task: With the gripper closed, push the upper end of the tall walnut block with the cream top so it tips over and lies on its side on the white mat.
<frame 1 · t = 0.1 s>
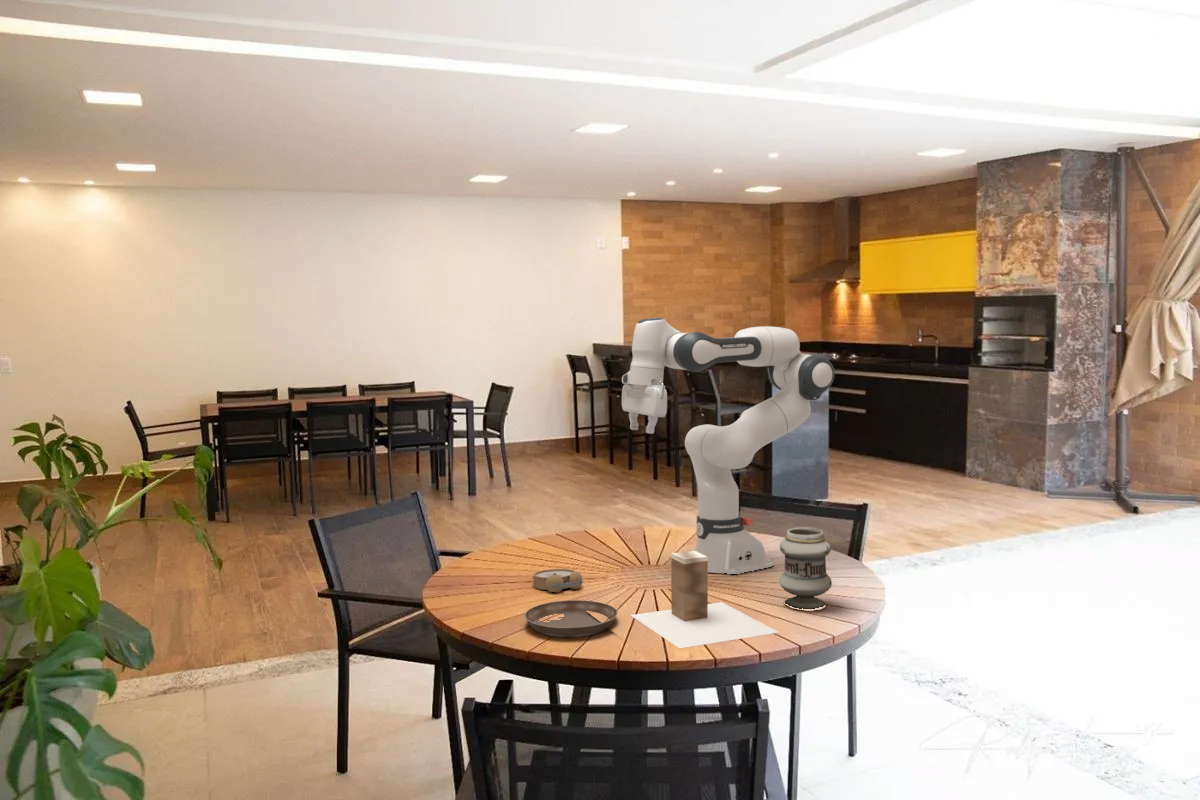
hand: (641, 431, 243), 39 cm above the table, tool pointing down, fingers open, 8 cm apart
white mat: (702, 627, 204), on the table
walnut block: (689, 615, 209), point 1 cm above the table, touching white mat
alarm clock: (558, 588, 237), on the table
apothecary jar: (805, 606, 219), on the table
plant saucer: (571, 627, 206), on the table
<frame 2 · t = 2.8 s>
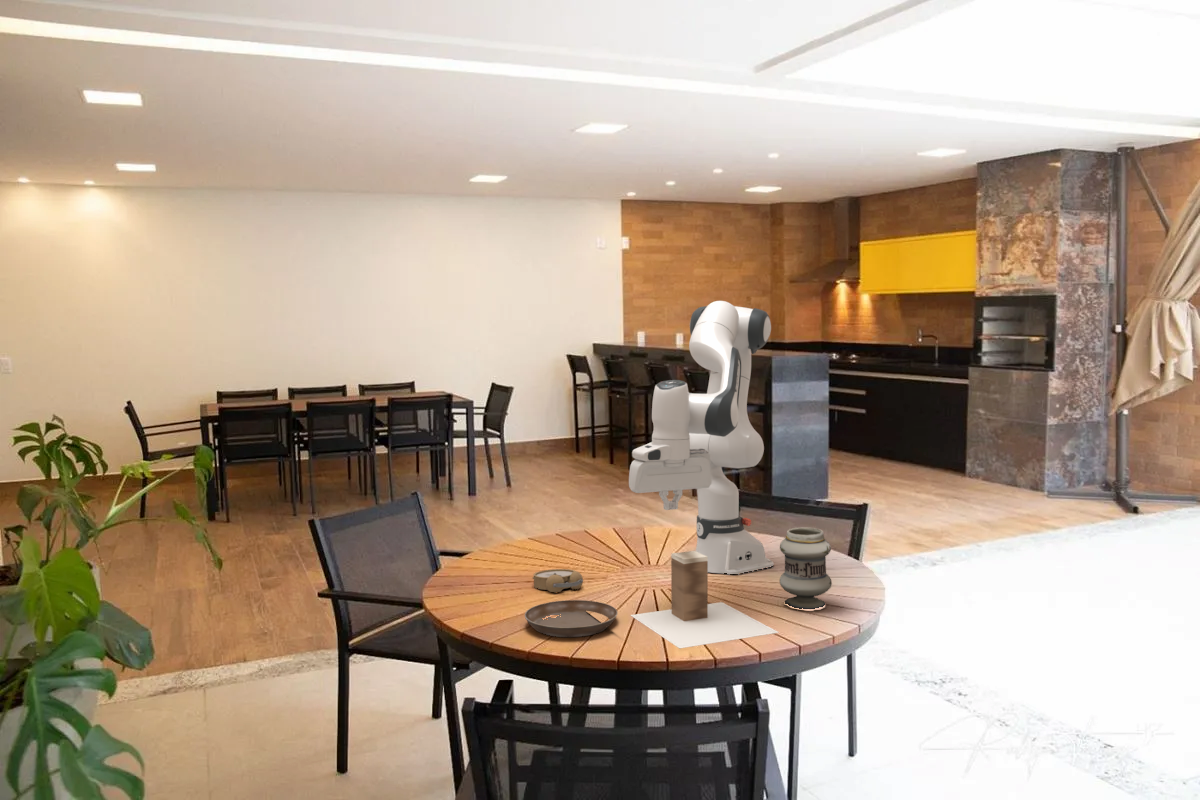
hand: (670, 509, 216), 24 cm above the table, tool pointing down, fingers closed
nothing on the table moved.
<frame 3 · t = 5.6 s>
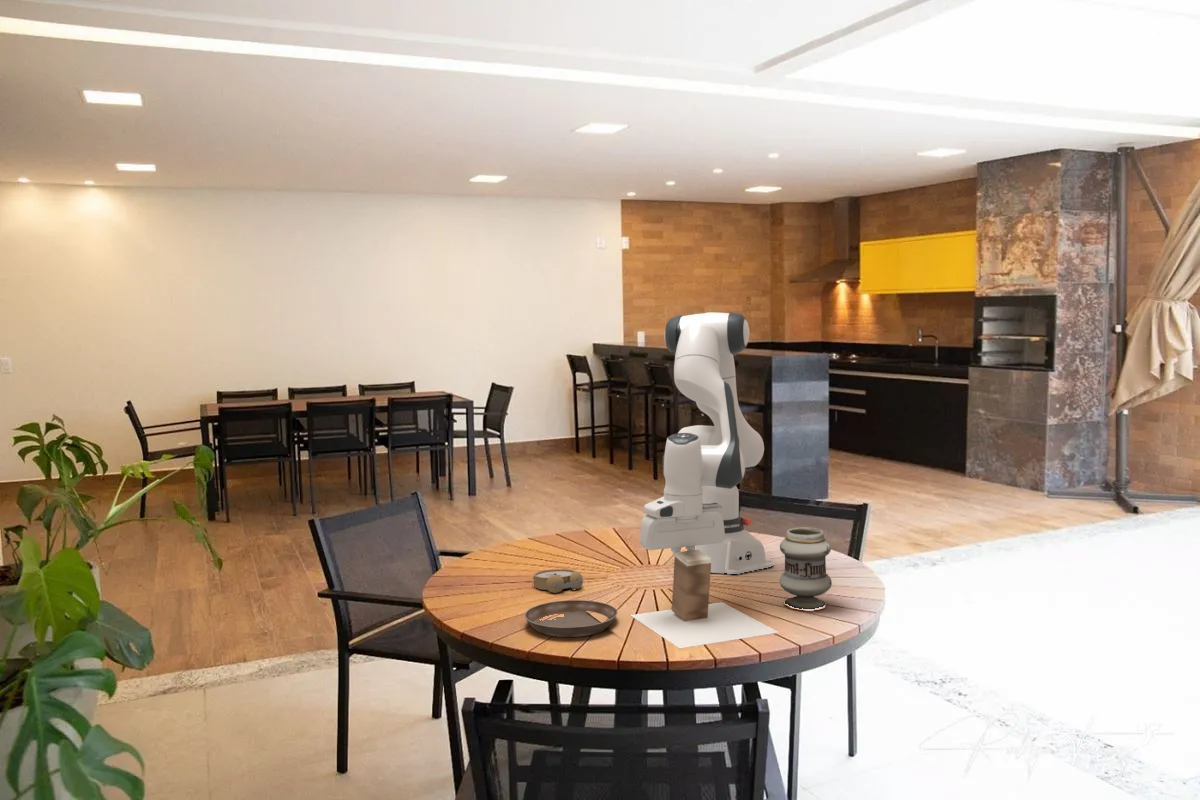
hand: (683, 565, 211), 12 cm above the table, tool pointing down, fingers closed
walnut block: (689, 614, 209), point 1 cm above the table, tilted 7°, touching white mat
everything else where it was.
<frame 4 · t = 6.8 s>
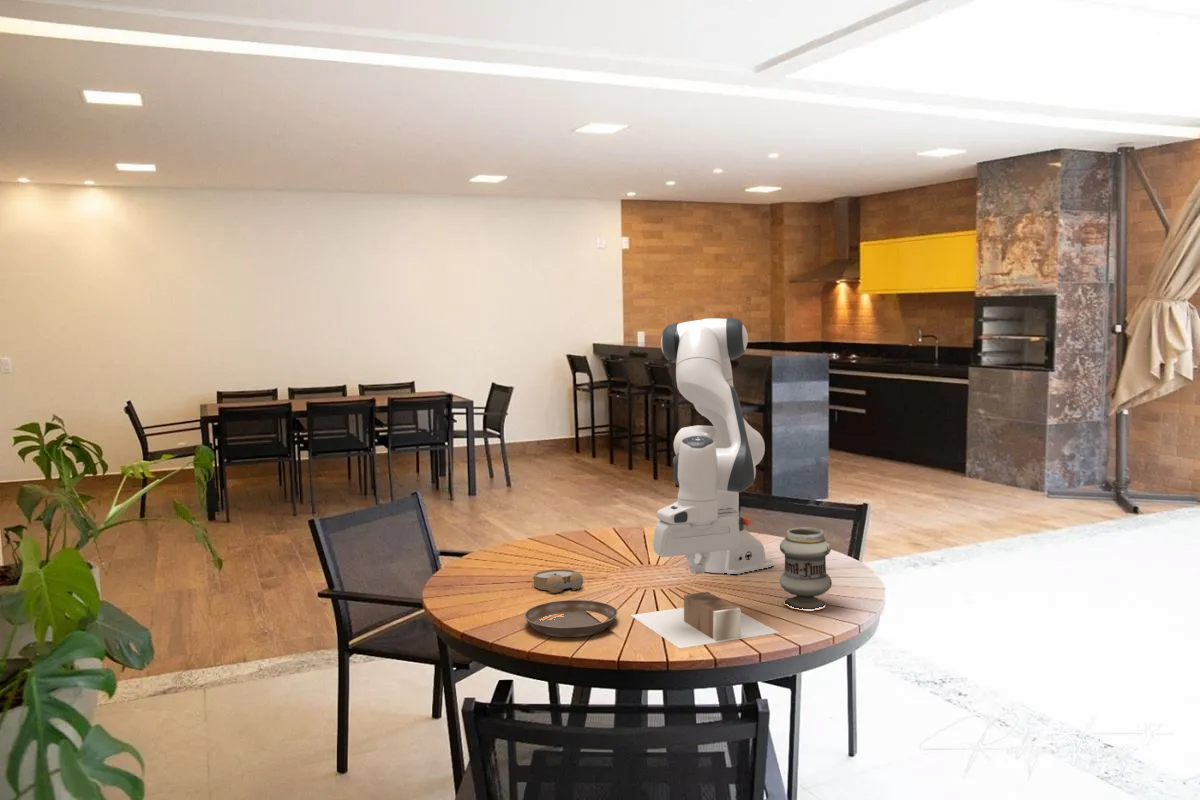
hand: (697, 572, 205), 12 cm above the table, tool pointing down, fingers closed
walnut block: (695, 606, 206), point 4 cm above the table, tilted 90°, touching white mat
everything else where it was.
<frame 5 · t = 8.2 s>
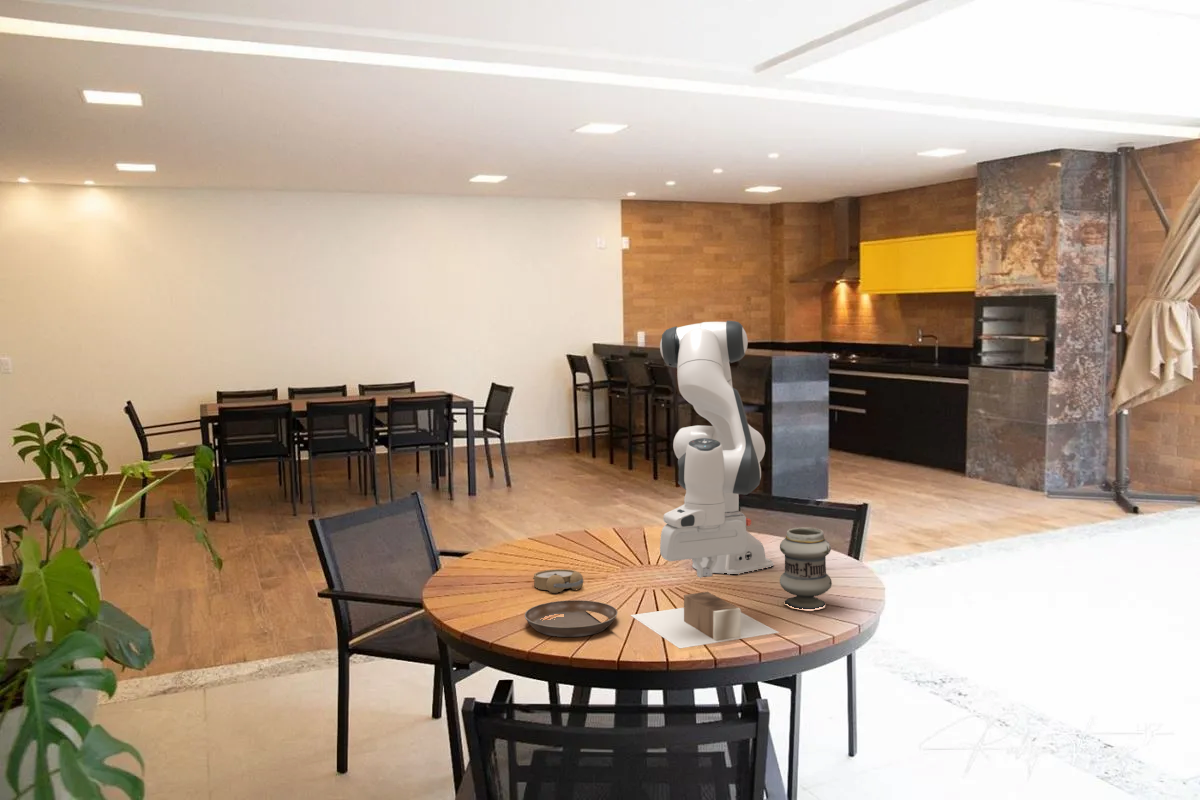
hand: (704, 576, 202), 12 cm above the table, tool pointing down, fingers closed
nothing on the table moved.
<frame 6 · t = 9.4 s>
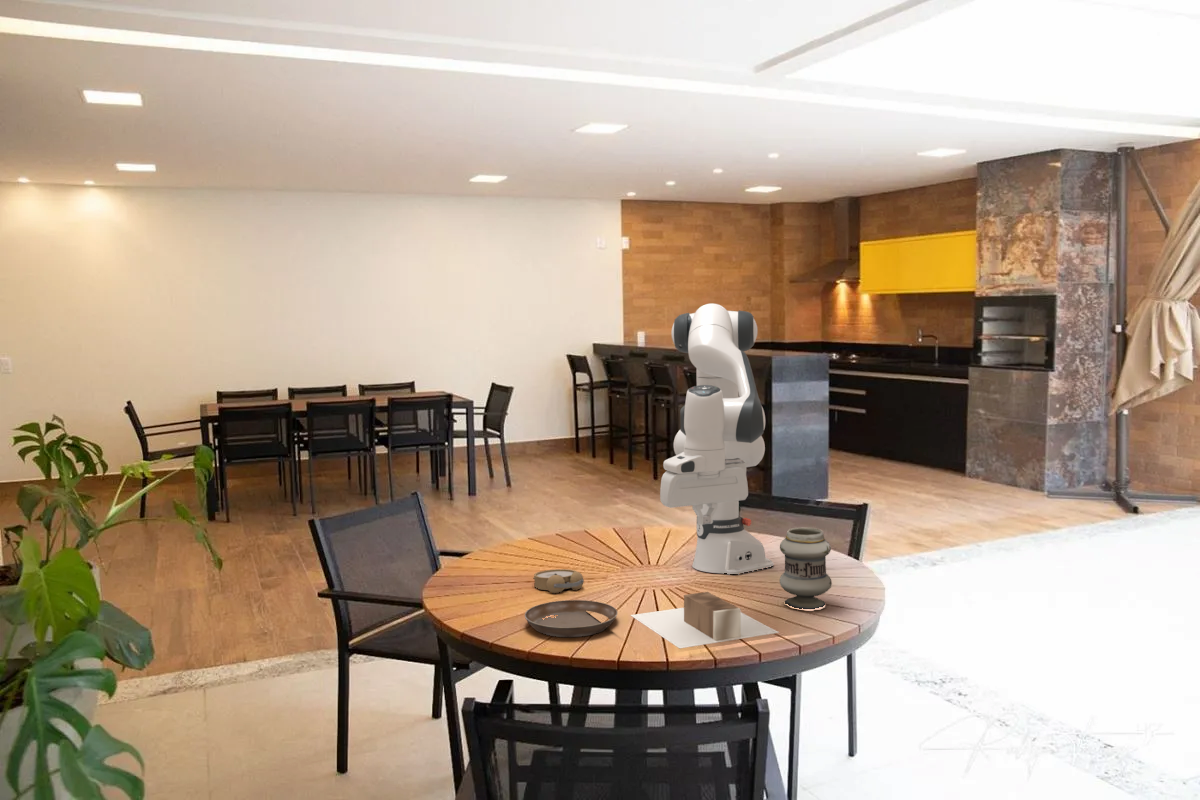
hand: (705, 523, 201), 23 cm above the table, tool pointing down, fingers closed
nothing on the table moved.
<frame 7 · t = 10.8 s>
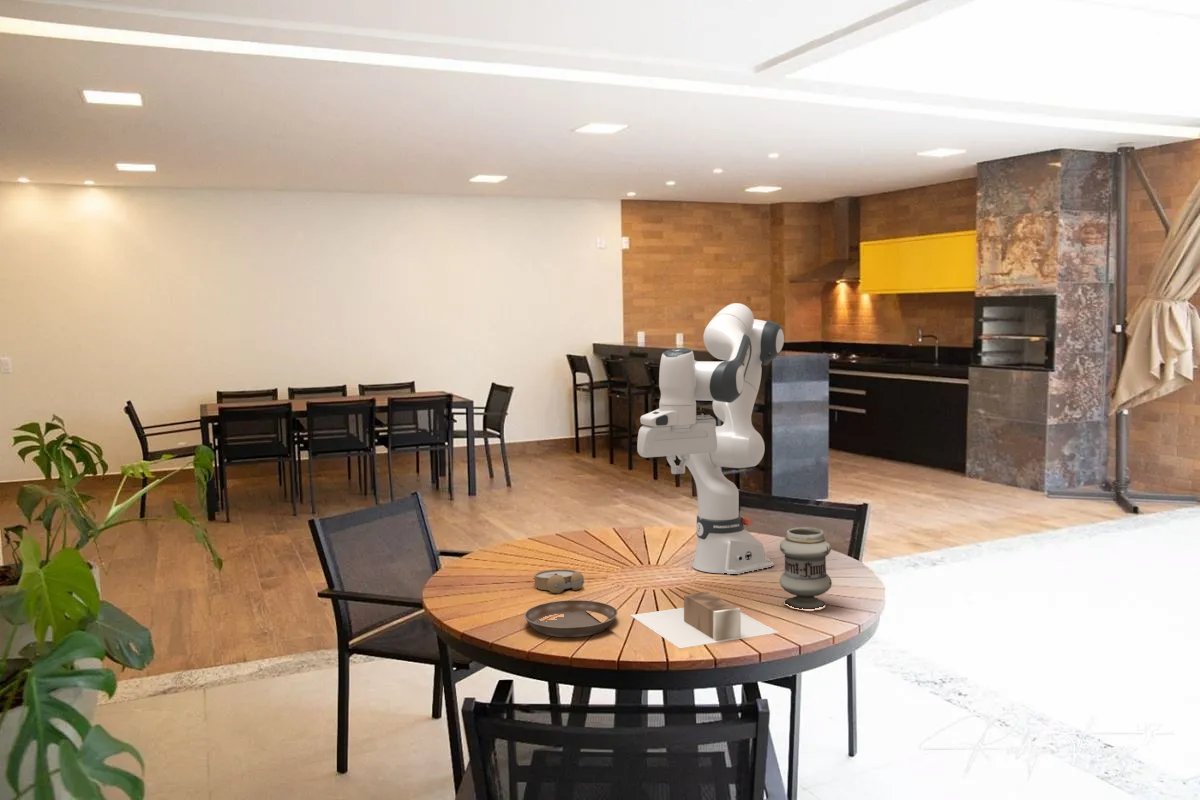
hand: (678, 473, 223), 31 cm above the table, tool pointing down, fingers closed
nothing on the table moved.
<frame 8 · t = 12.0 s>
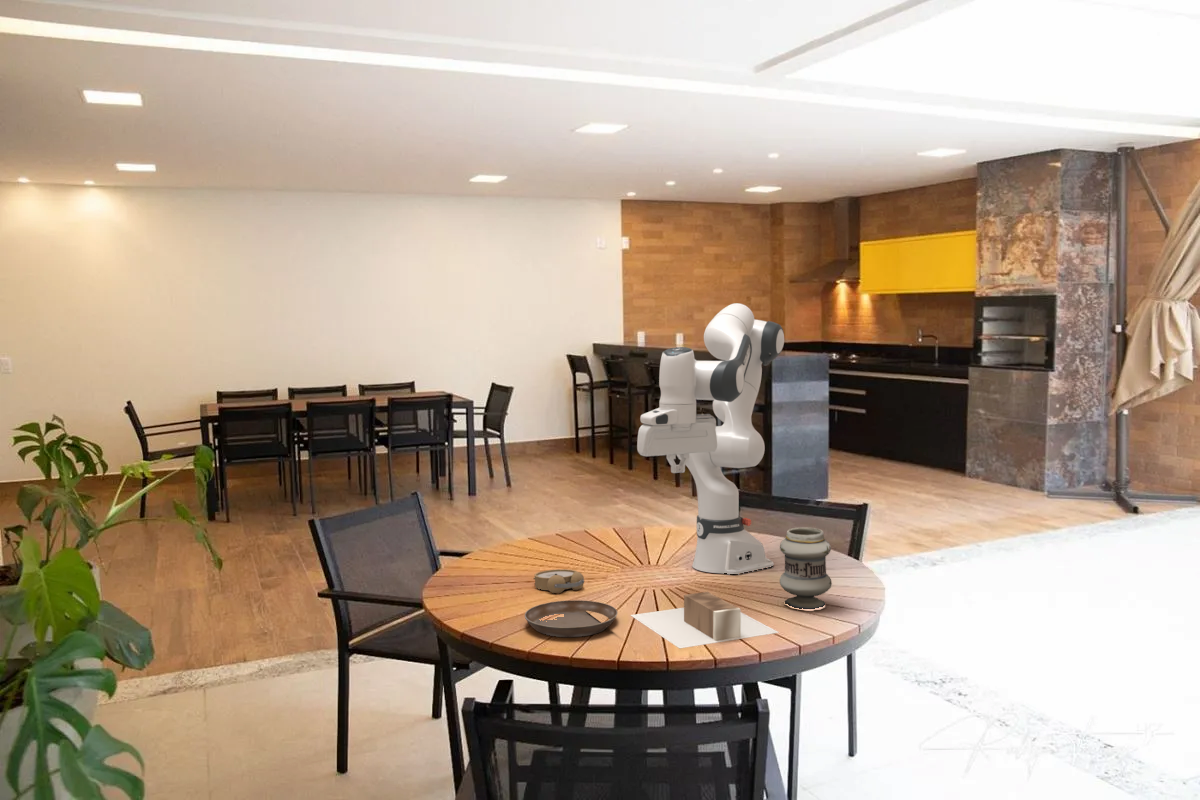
hand: (677, 472, 223), 31 cm above the table, tool pointing down, fingers closed
nothing on the table moved.
at the end: walnut block tilted 90°; walnut block inside the target area (1.0 cm from its centre), point 3.8 cm above the table; walnut block touching white mat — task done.
